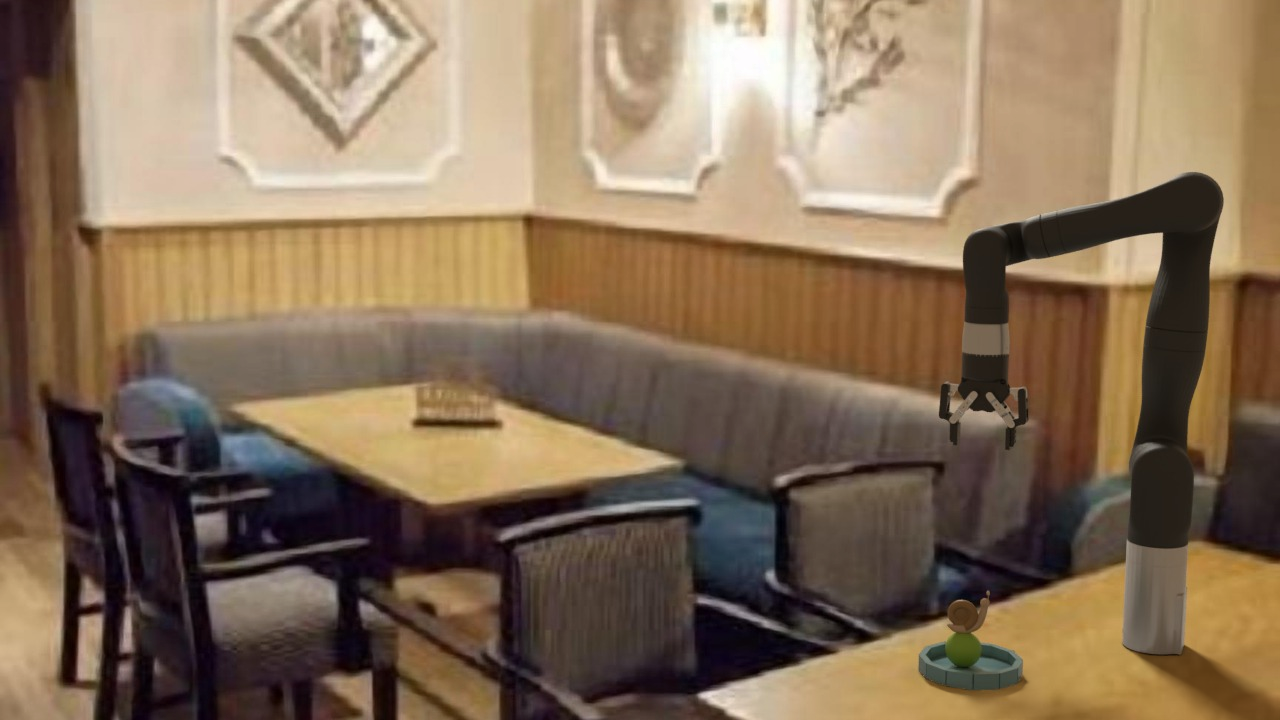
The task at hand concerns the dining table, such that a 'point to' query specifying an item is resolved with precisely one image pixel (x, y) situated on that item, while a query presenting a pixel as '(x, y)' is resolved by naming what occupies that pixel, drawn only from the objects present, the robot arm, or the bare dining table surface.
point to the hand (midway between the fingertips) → (982, 447)
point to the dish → (972, 668)
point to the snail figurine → (965, 632)
